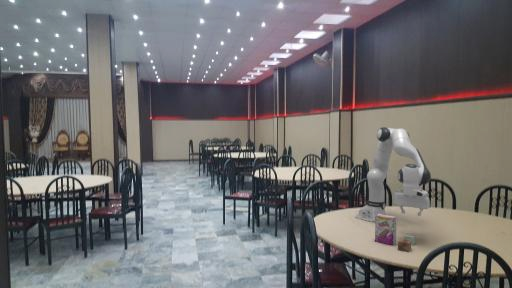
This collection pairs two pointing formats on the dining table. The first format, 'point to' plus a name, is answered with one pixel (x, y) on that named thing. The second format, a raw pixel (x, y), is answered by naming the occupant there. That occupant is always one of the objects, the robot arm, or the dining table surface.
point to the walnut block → (404, 245)
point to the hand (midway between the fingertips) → (411, 214)
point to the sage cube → (410, 238)
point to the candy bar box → (385, 229)
